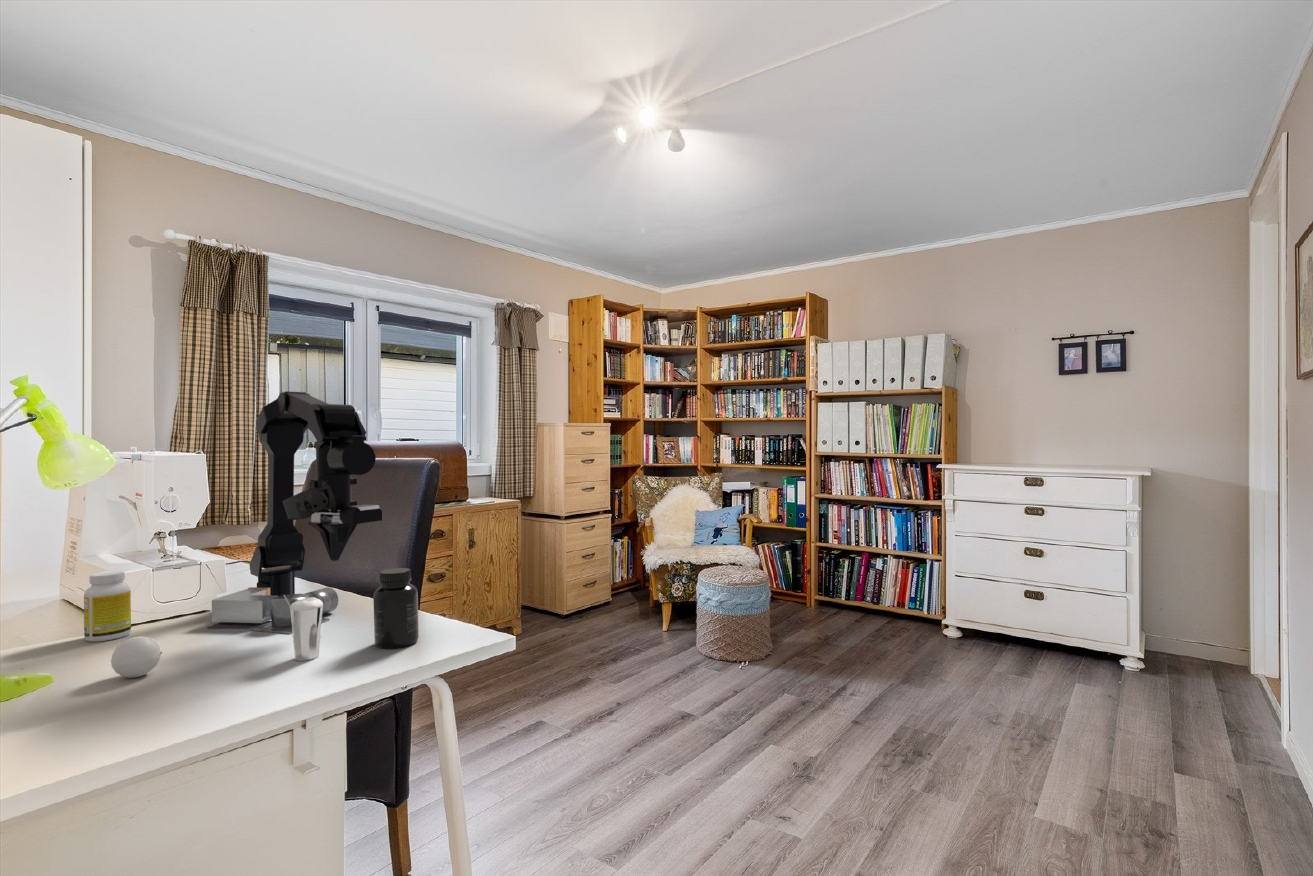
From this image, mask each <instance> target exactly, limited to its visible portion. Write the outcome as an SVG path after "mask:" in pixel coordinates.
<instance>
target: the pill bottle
mask: <svg viewBox="0 0 1313 876" xmlns="http://www.w3.org/2000/svg"><path fill="white" fill-rule="evenodd" d="M124 580H126V572H125V570H108V571H101V572H95V573H92V574H90V575H89V584H91V586H90V587H88V588H87V589H85V591H84V594H83V631H84V632H83V633H84V640H85V641H87V642H91V643H92V642H93V643H98V642H106V641H107V642H108V641H113V640H116V639H117V640H118V639H120V638H125V637H126V636H128V635H129V634H130V633H131V632H132V600H131V599H132V597H131V596H132V594H131V593H132V592H131V591H132V590H131V587H130V585H129V584H127V583H125V582H124Z"/></svg>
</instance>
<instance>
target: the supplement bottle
mask: <svg viewBox="0 0 1313 876" xmlns="http://www.w3.org/2000/svg"><path fill="white" fill-rule="evenodd" d="M411 572H412V571H411V569H410V568H408V567H407V568H406V567H404V568H403V567H395V568H388V569H383V570H381V571H380V572H379V574H378V575H379V580H378V581H379V585H380V586H379V587H378V588H377V589H376V590H375V592H373V596H372V597H373V630H374V631H373V636H374V644H375V646H376V647H377V648H378V649H384V650H389V649H390V650H393V649H399V648H405V647H408V646H411V645H413V644H415V643H416V642H417V641H418V640H419V638H420V635H419V634H420V633H419V632H420V631H419V598H418V597H419V595H418V594H419V593H418V588H417V587H416V586H415V585H414V584H412V583H410V582H411V581H412V575H411Z"/></svg>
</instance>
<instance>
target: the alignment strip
mask: <svg viewBox="0 0 1313 876" xmlns="http://www.w3.org/2000/svg"><path fill="white" fill-rule="evenodd" d="M268 622H271V620H269V621H267V622H264V623H236V622H215V623H214V624H212V625H209V626H207V629H250V628H253V627H256V626H259V625H262V624H265V623H268Z"/></svg>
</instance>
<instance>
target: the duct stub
mask: <svg viewBox="0 0 1313 876" xmlns="http://www.w3.org/2000/svg"><path fill="white" fill-rule="evenodd" d="M338 596H339V595H338V593H337V592H336V589H334V588H332V587H327V586H326V587H323V588H320V589H317V590H312V591H309V592H306V593H295V594H289V595H285V597H286V599H287V601H288V602H289V604H290V606H291V604H292V603H294V602H295V601H297V600H300V599H304V598H305V597H315V598H317V599H320V600H321V601H322V602H323V610H322V616H323V615H325V614H328V613H331V612H334V611H335V610H337V607H338V605H339V597H338ZM285 597H284V595H282V596H278V597H275V598H273V599H271V620H270V621H271V622H268V623H265V624H262V625H259V626H256V627H253V628H249V631H252V632H253V631H254V632H255V631H256V632H263V633H264V632H265V633H266V632H267V633H274V634H275V633H276V634H285V635H293V631H292V623H291V615H290V607H289V605H288V603H287V601H286V599H285ZM330 620H331V619H330V618H328V617H326V618H325V617H322V620H321V624H323V623H325V622H328V621H330Z"/></svg>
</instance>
